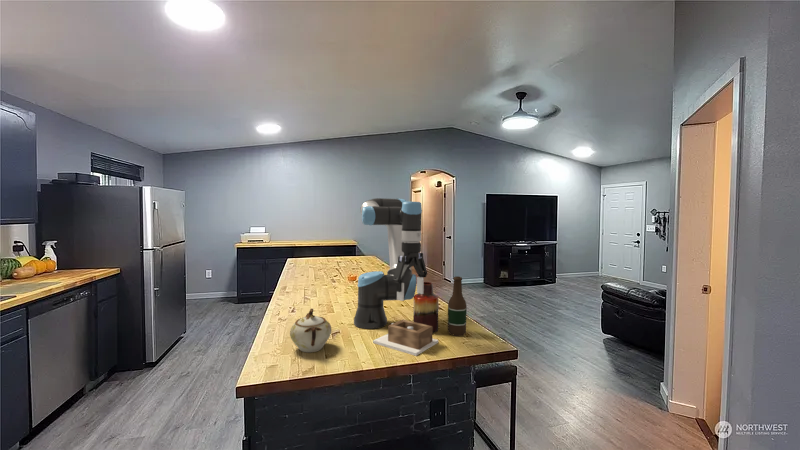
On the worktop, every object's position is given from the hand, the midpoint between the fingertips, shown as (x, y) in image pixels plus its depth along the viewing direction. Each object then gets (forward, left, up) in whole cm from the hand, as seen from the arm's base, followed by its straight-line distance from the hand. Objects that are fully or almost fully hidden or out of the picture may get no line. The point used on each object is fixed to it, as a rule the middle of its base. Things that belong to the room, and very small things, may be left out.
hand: (410, 296), depth 133 cm
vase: (-4, +18, -19) cm, 26 cm away
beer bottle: (+9, +22, -19) cm, 30 cm away
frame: (0, 0, -17) cm, 17 cm away
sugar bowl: (-27, -26, -19) cm, 42 cm away
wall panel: (-2, 0, -18) cm, 18 cm away
